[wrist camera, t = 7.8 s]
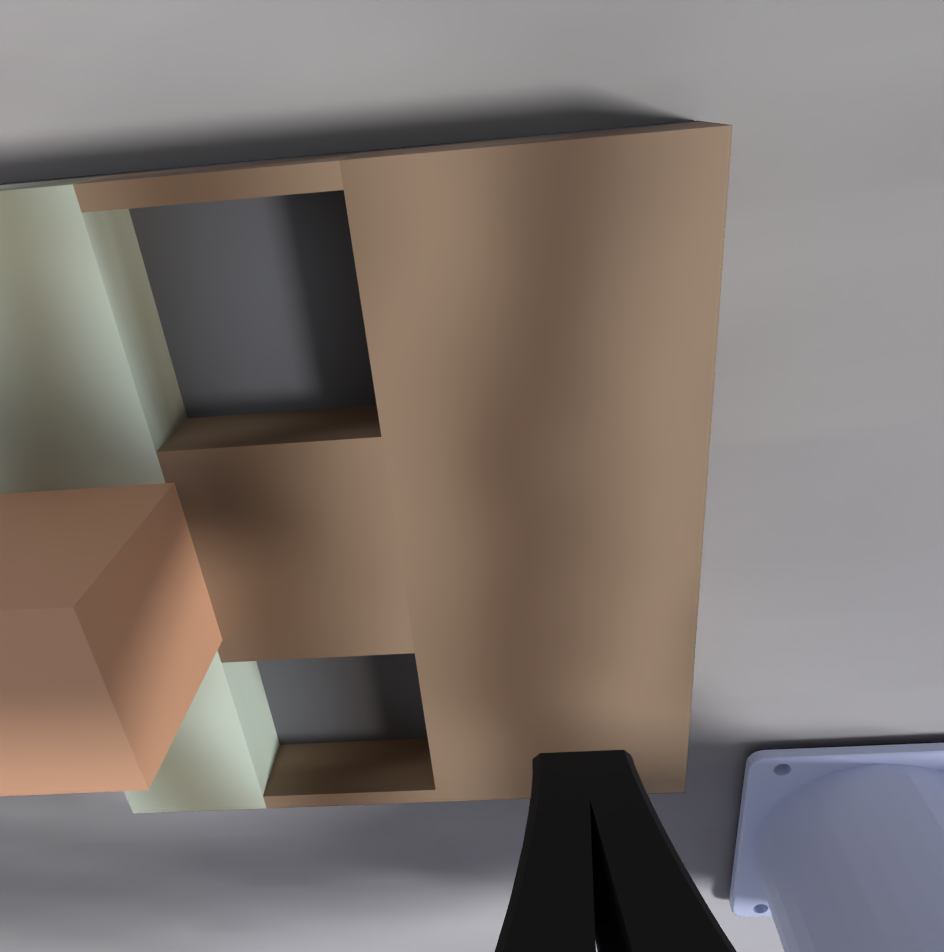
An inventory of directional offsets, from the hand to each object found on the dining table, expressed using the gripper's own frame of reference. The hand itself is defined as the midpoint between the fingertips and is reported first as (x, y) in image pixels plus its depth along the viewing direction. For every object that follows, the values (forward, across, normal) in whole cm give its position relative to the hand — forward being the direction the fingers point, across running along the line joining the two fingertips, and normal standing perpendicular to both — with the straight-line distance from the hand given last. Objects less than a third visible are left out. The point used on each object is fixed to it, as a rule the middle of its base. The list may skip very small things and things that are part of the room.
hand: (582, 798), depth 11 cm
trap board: (+9, +4, 0) cm, 10 cm away
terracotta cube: (+7, +10, 0) cm, 13 cm away
